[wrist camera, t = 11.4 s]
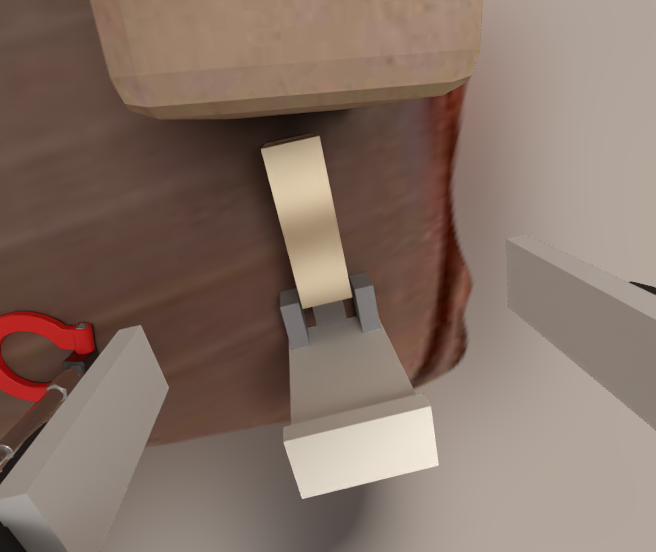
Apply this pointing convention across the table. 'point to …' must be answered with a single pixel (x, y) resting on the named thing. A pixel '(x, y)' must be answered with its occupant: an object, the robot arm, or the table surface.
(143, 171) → the table surface
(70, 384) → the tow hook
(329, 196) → the rail
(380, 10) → the block
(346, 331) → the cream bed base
